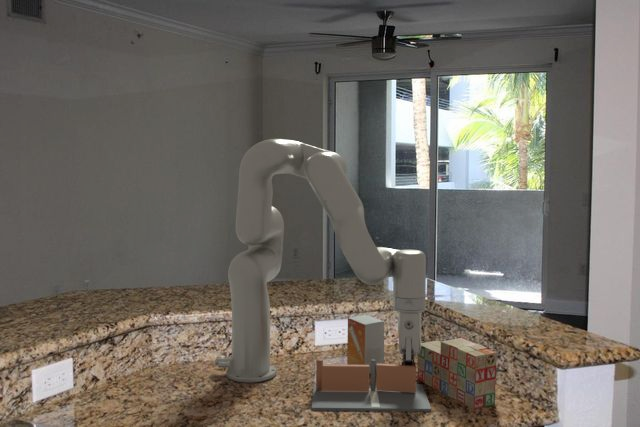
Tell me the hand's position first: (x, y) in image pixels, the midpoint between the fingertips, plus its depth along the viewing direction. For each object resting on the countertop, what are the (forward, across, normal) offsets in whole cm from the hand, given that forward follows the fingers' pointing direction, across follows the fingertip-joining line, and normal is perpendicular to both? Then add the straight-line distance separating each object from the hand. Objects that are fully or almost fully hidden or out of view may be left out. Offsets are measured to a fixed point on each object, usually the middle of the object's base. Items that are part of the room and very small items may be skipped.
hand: (408, 379), depth 154 cm
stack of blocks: (+3, +1, -11) cm, 11 cm away
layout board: (+3, -6, +9) cm, 11 cm away
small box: (+3, +15, +11) cm, 19 cm away
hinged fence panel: (+2, -3, +3) cm, 5 cm away
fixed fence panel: (+2, -4, +15) cm, 16 cm away
